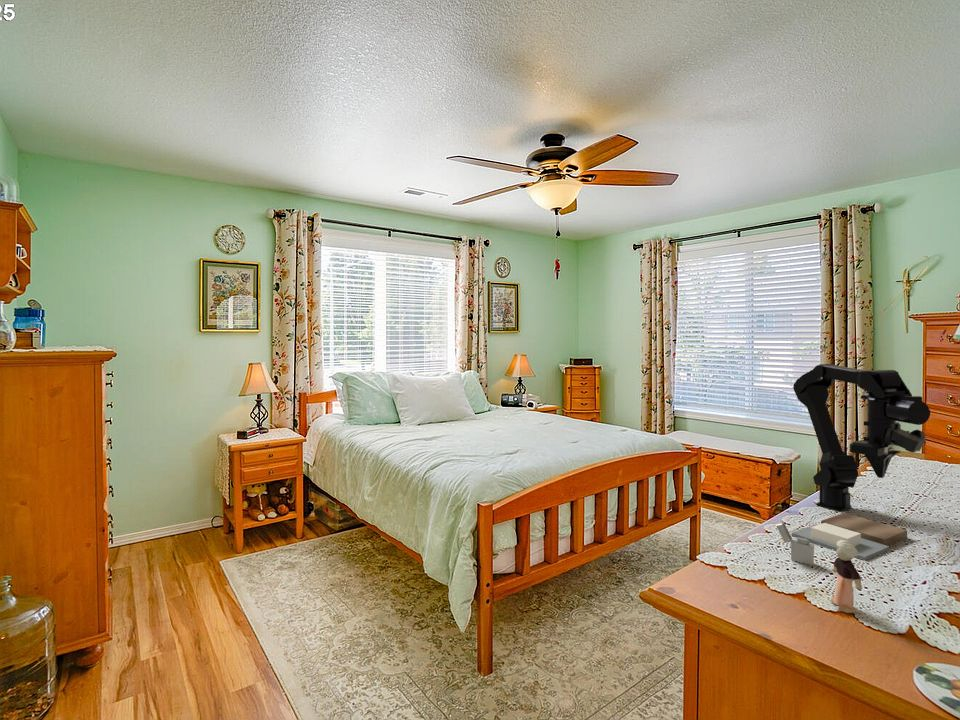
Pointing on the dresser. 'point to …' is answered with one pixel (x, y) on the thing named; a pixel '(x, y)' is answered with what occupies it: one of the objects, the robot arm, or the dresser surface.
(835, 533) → the tile
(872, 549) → the mat
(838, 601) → the grandmother figurine
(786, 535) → the lighter
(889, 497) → the dresser surface
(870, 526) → the board
